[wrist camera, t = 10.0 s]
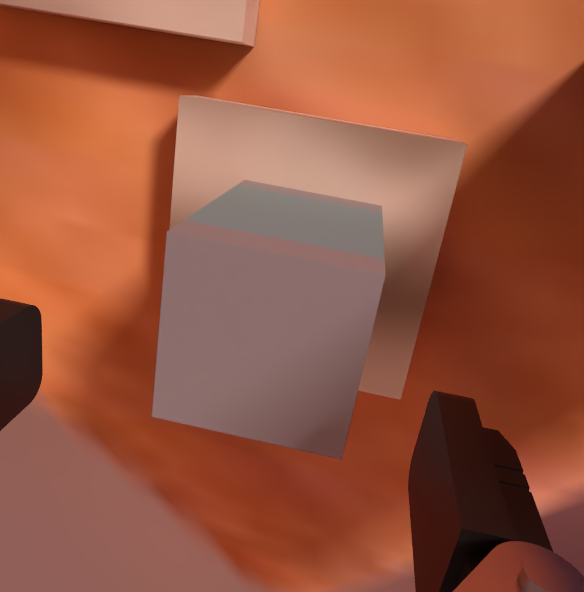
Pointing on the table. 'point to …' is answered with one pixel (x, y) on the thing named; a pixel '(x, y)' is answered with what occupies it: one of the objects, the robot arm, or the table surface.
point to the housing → (269, 315)
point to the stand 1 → (161, 15)
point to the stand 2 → (338, 183)
